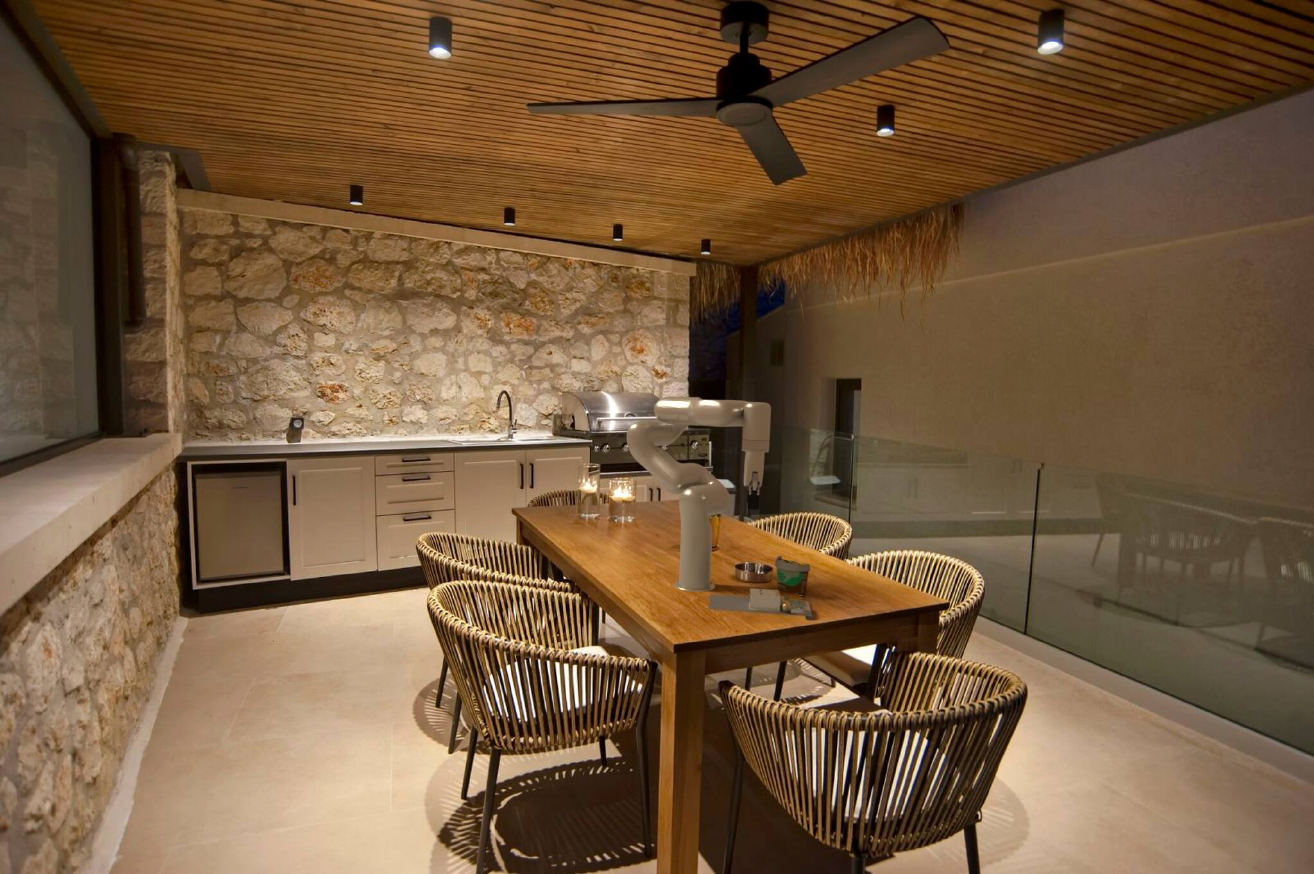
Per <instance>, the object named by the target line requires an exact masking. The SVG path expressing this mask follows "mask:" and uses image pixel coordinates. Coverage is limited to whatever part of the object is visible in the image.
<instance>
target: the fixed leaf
mask: <svg viewBox="0 0 1314 874" xmlns="http://www.w3.org/2000/svg"><path fill="white" fill-rule="evenodd" d="M780 599H781V600H780V601H781V605H782V610H783V612H784V613H790V612H791V614H804V615H811V613H812V609H811V607H810V606H811V605H810V603H809V602H808V601H807V602H803V601H804V600H802V601H789V600H790V598H789V597H788V596H786V595H782V596H780Z"/></svg>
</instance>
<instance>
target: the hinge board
mask: <svg viewBox="0 0 1314 874" xmlns="http://www.w3.org/2000/svg"><path fill="white" fill-rule="evenodd" d="M780 600H781V598H780ZM749 601H750V596H743V595H742V596H741V595H740V596H739V595H726V594H725V595H724V594H711V593H710V594H709V602H708V608H707V609H708V610H714V611H716V610H717V611H718V610H719V611H728V612H745V613H756V614H757V613H758V614H759V613H760V614H770V615H771V614H772V615H784V616H786V615H787V616H798V617H799V616H801V617H802V616H803V617H805V620H808V621H809V620H810V621H812V620H813V614H812V612H811V615H804V614H791V612H790V613H784V612H783V610H782V605H781V601H780V611H775V610H760V609H750V603H749ZM789 601H803V602H808V600H799V599H789Z"/></svg>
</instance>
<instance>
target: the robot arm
mask: <svg viewBox="0 0 1314 874" xmlns="http://www.w3.org/2000/svg"><path fill="white" fill-rule="evenodd" d="M653 413H654V415H655V417H656V419H647V420H646V419H645V420H644V419H643V420H639V421H638V420H637V421H636V422H633V423H632V424H631V425H630V426H629V427H628V429H627V432H626V444H627V447H628V450H629V452H630V454H631V456H632V458H634V460H635V461H636V462H637V463H638V464H639V465H641V466H642V467H643V468H644V469H645V470H646V471H647V472H649V474H650V475H651V476H652V477H653V478H654V479H655V480H656V481H657V482H658V483H659V484H660V485H661V486H662V487H663V488H664V489H665V490H666V491H667V492H668V493H670V494H672V495H680V496H679V498H678V508H679V515H680V546H679V547H680V549H679V550H680V551H679V552H680V553H679V572H678V573H679V575H678V580H676V581H675V582H673V587H675V588H676V589H678V590H682V591H686V592H695V593H702V592H709V591H712V590H714V589H715V588H716V585H715V584H714V583H713V582H711V577H712V576H711V571H712V551H713V549H712V547H713V545H712V544H713V528H712V525H711V522H710V516H715V515H719V514H722V513H725V512H726V511H727V510H728V509H729V507H730V504H731V496H730V495H731V494H730V493H729V491H728V489H727V487H726V486H724V484H723V483H722V482H721V481H720V480H718V478H716V477H715V476H714V474H712V473H711V472H710V471H709V470H708V469H707V468H705V467H704V466H703V465H702V464H699V463H695V462H686V463H681V462H678V461H677V460H675V459H674V458H673V456H671V454H669V452H667V451H666V450H663V449H662V448H660V447H661V446H665V447H666V446H669V445H671V444H673V443H674V442H675V441H676V440H677V439H678V438H679V437H680V436H681V435H682V433H683V432H685V430H687V428H688V427H689V426H697V427H698V426H701V427H702V426H703V427H704V426H706V427H715V428H716V427H719V428H723V427H724V428H725V427H726V428H727V427H742V442H741V443H742V444H741V451H742V452H745V455H744V468H743V470H744V471H743V486H744V487H745V488H746V487H747V490H746V491H747V492H746V503H747V506H746V507H747V510H754V511H758V510H760V500H761V495H760V488H761V487H762V485H763V478H764V468H765V467H764V466H765V465H764V464H765V454H766V453H769V452H770V436H771V416H772V415H771V414H772V407H771V405H770V404H769V403H768V402H762V401H761V402H759V401H758V402H757V401H755V402H754V401H747V400H741V399H740V400H737V399H736V400H734V399H702V398H701V397H699V396H696V397H695V396H694V397H693V396H692V397H691V396H671V395H670V396H665V397H661V398H659V399H658V400H657V402H656V403H655V405H654V408H653Z"/></svg>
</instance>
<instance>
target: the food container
mask: <svg viewBox="0 0 1314 874" xmlns="http://www.w3.org/2000/svg"><path fill="white" fill-rule="evenodd" d="M774 566H775V567H776V580H777V585H776V586H777V587H776V588H777V590H779V591H782V592H784V593H789V594H797V596H798V597H800V596H799V595H805V596H807V595H806V594H807V585H808V578H809V572H810V571H811V566H810V563H805V564H804V563H802V564H801V563H799V562H797V561H794V560H788V559H784V558H783V557H782V555H779V556H777V557H776V559H775V561H774Z"/></svg>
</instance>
